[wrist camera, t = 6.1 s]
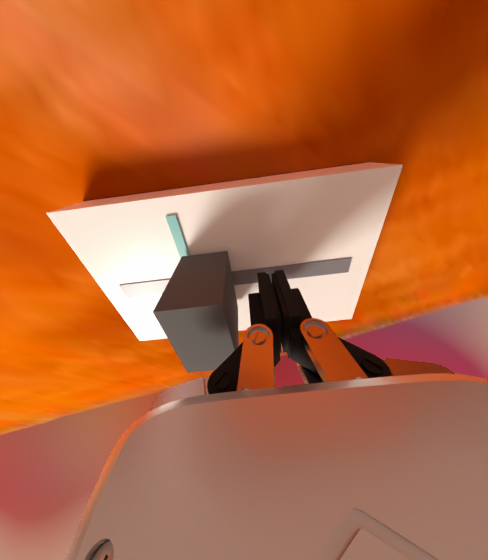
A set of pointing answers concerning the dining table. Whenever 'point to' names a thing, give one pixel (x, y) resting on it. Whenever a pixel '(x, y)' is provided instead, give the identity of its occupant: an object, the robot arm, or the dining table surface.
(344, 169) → the fader console
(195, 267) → the fader knob
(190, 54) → the dining table surface
